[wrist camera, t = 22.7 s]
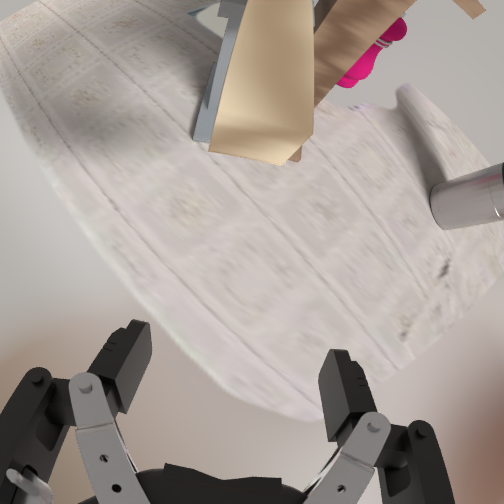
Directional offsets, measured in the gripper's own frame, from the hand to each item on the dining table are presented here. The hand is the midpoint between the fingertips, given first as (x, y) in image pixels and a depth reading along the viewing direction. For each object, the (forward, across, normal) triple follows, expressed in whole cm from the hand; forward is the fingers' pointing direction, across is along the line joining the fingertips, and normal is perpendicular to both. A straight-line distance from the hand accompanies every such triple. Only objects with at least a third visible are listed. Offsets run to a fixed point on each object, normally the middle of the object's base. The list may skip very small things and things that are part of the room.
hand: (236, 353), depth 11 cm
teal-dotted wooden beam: (+8, +1, -19) cm, 21 cm away
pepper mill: (+41, -12, -25) cm, 49 cm away
